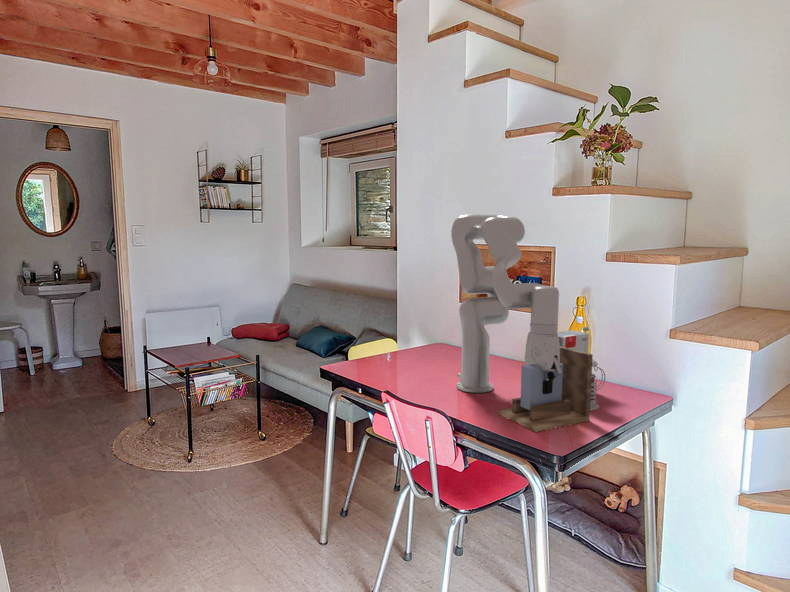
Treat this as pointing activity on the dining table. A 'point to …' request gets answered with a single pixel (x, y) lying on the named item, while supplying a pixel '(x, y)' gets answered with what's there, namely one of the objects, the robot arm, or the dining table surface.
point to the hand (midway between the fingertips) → (541, 390)
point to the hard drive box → (574, 340)
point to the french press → (594, 364)
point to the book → (538, 387)
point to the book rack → (573, 397)
